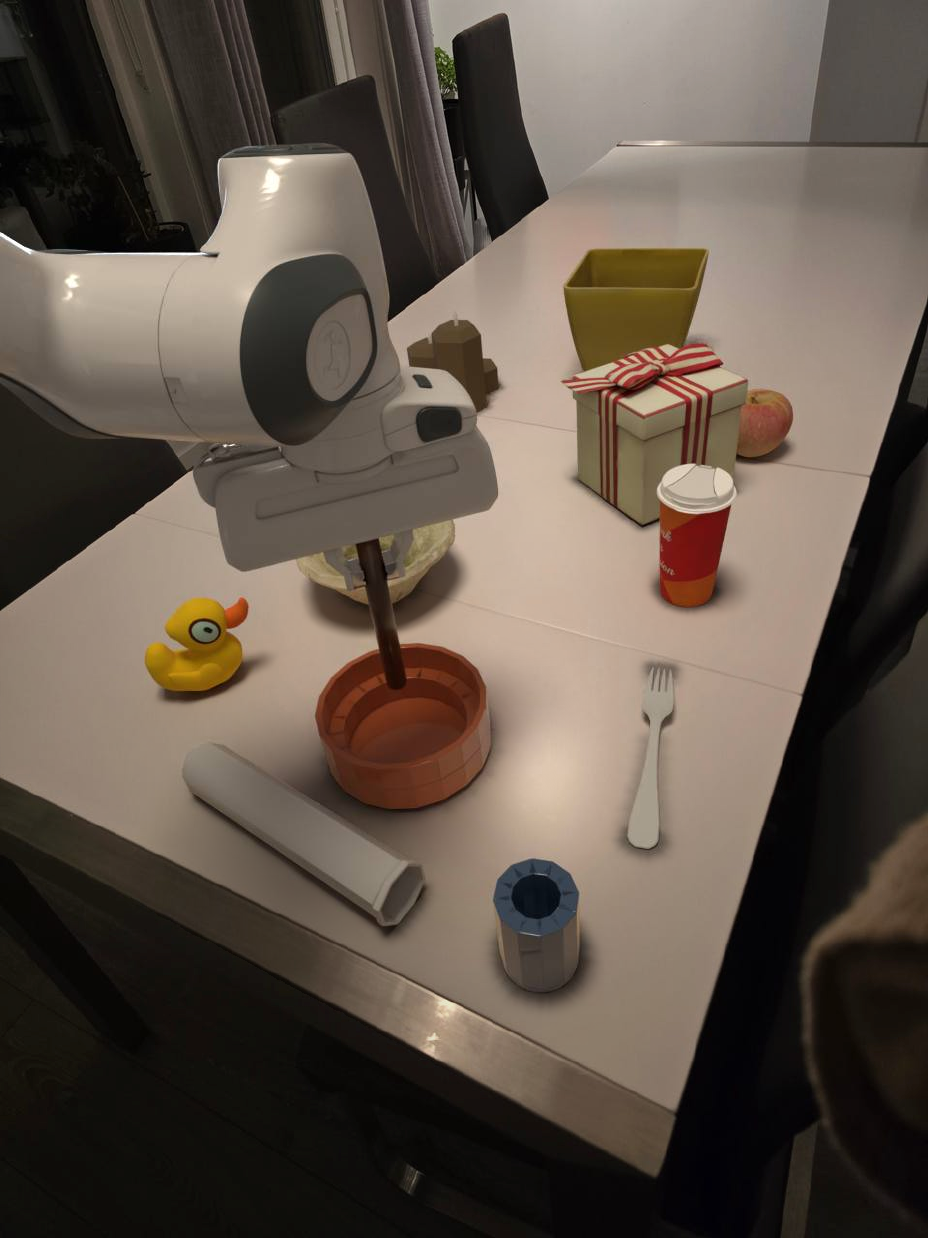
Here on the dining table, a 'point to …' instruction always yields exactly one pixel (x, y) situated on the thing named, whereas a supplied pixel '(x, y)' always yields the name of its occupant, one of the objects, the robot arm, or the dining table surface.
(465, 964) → the dining table surface
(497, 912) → the crock
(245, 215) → the robot arm
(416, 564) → the bowl
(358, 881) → the tube
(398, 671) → the stirring stick
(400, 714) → the orange round shallow dish
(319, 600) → the dining table surface
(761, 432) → the apple
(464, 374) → the candle
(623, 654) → the dining table surface
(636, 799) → the fork
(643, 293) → the flower pot
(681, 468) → the paper cup
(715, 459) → the gift box
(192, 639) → the duckling
